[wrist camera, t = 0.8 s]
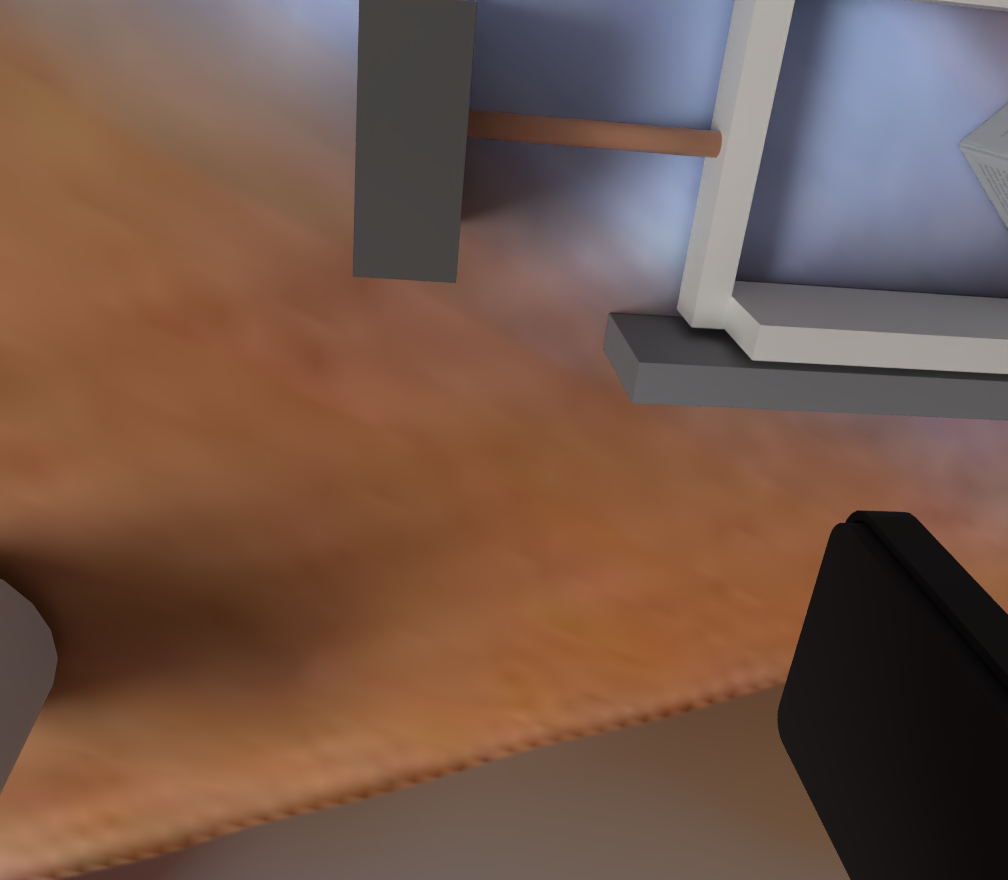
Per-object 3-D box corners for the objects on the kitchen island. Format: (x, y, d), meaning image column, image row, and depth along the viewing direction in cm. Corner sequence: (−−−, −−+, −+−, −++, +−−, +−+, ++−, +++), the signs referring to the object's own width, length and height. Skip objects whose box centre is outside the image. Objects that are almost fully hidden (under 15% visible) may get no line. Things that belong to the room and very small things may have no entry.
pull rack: (369, -106, 22) (360, -128, 17) (1300, 3, 26) (1532, 13, 21) (358, 289, 27) (349, 369, 22) (1154, 338, 30) (1314, 416, 25)
